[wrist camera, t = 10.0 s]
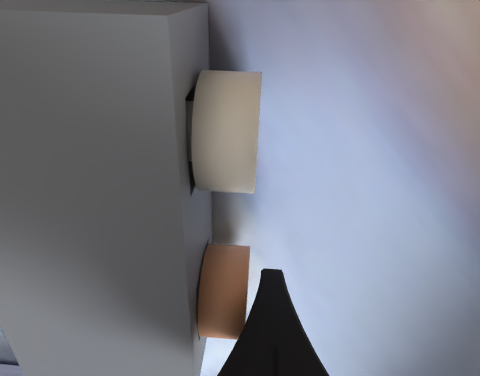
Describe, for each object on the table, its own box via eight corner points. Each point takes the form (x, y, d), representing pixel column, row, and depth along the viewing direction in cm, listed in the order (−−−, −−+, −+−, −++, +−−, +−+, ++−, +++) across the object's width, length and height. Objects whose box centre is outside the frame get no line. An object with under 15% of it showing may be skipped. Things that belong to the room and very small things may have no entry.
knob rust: (251, 228, 13) (246, 294, 10) (247, 289, 15) (242, 360, 12) (81, 217, 13) (33, 278, 11) (97, 278, 15) (58, 344, 12)
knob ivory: (262, 61, 10) (260, 90, 7) (257, 161, 12) (253, 217, 9) (42, 52, 10) (-41, 78, 7) (67, 151, 12) (6, 202, 9)
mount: (87, 287, 16) (28, 384, 12) (5, -4, 10) (-162, 4, 6) (213, 296, 16) (195, 399, 12) (207, 3, 10) (167, 15, 6)
